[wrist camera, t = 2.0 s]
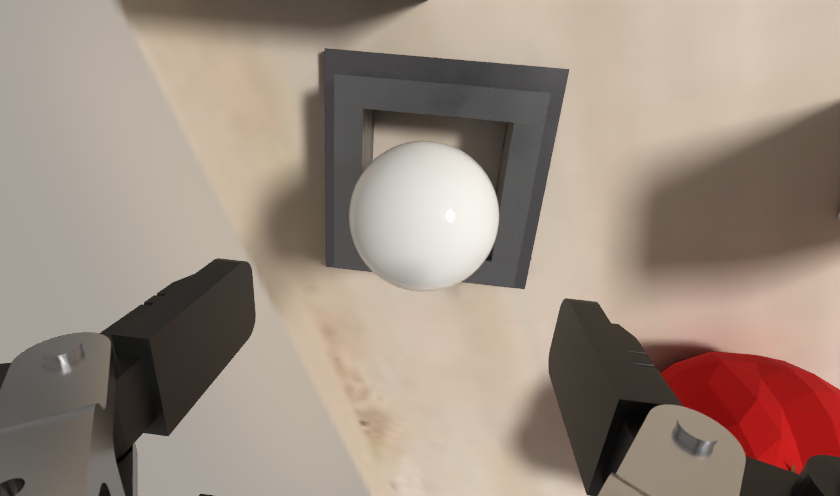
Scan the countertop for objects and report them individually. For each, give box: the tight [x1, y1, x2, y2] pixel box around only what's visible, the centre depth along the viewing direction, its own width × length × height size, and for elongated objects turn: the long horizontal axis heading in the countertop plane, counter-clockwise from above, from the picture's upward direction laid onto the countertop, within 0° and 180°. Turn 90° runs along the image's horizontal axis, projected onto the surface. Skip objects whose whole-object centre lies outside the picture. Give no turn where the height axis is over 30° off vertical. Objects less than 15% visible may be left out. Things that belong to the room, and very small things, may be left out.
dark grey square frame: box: [325, 48, 569, 289], centre depth 23 cm, size 13×13×3 cm
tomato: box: [661, 351, 840, 474], centre depth 24 cm, size 13×12×11 cm
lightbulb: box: [349, 141, 499, 292], centre depth 20 cm, size 6×6×11 cm
